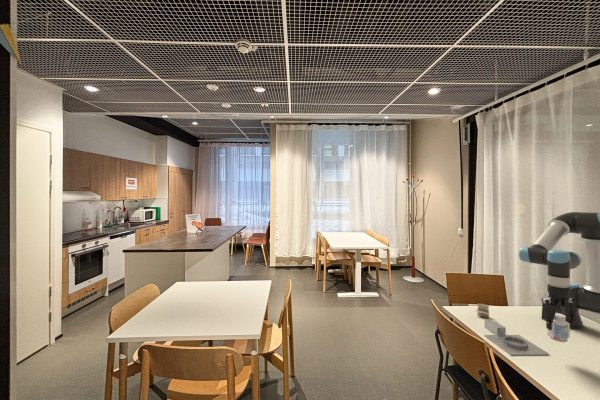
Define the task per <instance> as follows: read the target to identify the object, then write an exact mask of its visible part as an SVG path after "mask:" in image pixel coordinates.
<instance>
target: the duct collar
mask: <svg viewBox="0 0 600 400" xmlns="http://www.w3.org/2000/svg"><path fill="white" fill-rule="evenodd" d="M484 328H485V329H487V330H488V331H489V332H490V333H492V334H484V335H483V336H484V337H485V338H486V339H487V340H489V341H491V343H493V344H494V345H496V346H497V347H498V348H500V349H502V351H504V352H505V353H507V354H508V355H510V356H550V353H549V352H547V351H545V350H544V349H543V348H541V347H540V346H537V345H536V344H534V343H532V342H531V341H529V340H528V339H526V338H525V337H523V336H521V335H520V334H507V333H506V332H507V330H506V329H507V328H506V326H504V325H502V324H500V323H499V322H497V321H496V320H494V319H491V318H490V319H489V318H488V319H486V318H485V319H484Z"/></svg>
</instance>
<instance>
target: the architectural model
mask: <svg viewBox="0 0 600 400" xmlns="http://www.w3.org/2000/svg"><path fill="white" fill-rule="evenodd" d="M489 309H490V308H489V305H488V304H484V303H477V309H476V308H475V312H476V313H477V315H478V316H481V317H484V318H488V319H489V318H490V310H489Z"/></svg>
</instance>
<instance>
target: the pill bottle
mask: <svg viewBox="0 0 600 400" xmlns="http://www.w3.org/2000/svg"><path fill="white" fill-rule="evenodd" d="M565 320H566V316H565V315H563V314H560V313H556V314H555V317H554V320H553V323H554V324H555V338H552V337H550V336H548V337H549V338H550V339H551V340H553V341H555V342H557V343H567V342H568V339H569V338H568V323H567V322H566V321H565Z"/></svg>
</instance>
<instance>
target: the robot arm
mask: <svg viewBox="0 0 600 400" xmlns="http://www.w3.org/2000/svg"><path fill="white" fill-rule="evenodd" d="M569 234H578V235H579V234H580V238H581V239H582V240H583V241H585V243H584V245H585V246H584V247H585V267H586V269H585V270H586V271H585V272H586V273H585V274H586V283H585V284H583V285H582V287H580V284H578V283H576V282H571V270H573V269H576V268H578V267H579V266H580V265H581V264H582V258H581V256H580V255H579V254H578V253H576V252H574V251H568V250H562V249H554V248H555V246H556V245H557V244H558V243H559V242H560V241H561V239H562V238H563V237H564V236H568V235H569ZM518 256H519V257H518V258H519V260H520V261H522V262H525V263H529V264H535V265H537V264H538V265H542V266H546V267H547V273H546V274H547V283H548V284H547V285H546V286H547V294H548V296H547V297H546V298H543V297H542V298H541V303H542V305H541V306H542V307H541V320H543V322H544V321H545V322H546V323H545V324H546V325H545V326H546V327H545V328H546V329H547V336H548V337H549V336H550V337H552V338H555V324H554V323H553V320H554V317H555V314H556V313H560V314H563V315H565V316H566V320H565V321H566V322H567V323H568V339H569V338H571V336H570V334H571V333H570V331H571V329H583V328H584V322H583V321H582V317H581V314H580V310H582V311H586V312H591V313H594V314H598V315H600V212H588V211H587V212H579V211H570V212H566V213H563V214H560V215H557V216H556V217H554V218H552V219H551V220H550V221H549V222H548V223H547V227H546V228H545V230H543V231H542V233H541V234H540V235H539V236H538V237H537V239H536V240H535V241H534V242H533V243H532V244H531V245H530V246H529V247H528V246H523V247H520V248H519V252H518ZM550 337H549V338H550Z"/></svg>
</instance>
